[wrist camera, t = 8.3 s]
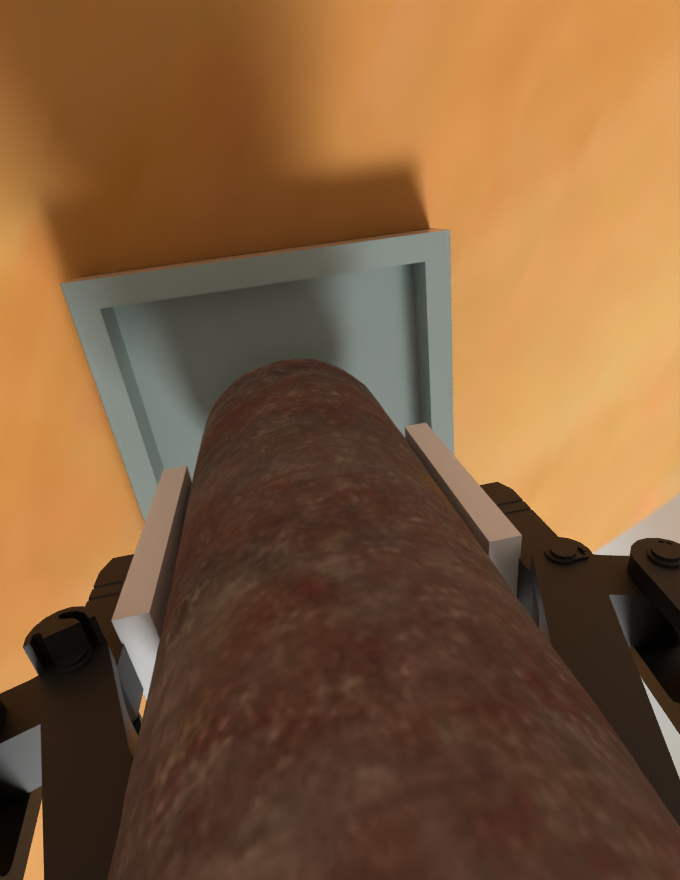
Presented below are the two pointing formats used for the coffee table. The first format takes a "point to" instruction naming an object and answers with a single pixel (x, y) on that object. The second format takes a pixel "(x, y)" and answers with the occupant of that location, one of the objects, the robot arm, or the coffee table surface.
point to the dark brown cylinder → (361, 677)
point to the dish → (265, 336)
